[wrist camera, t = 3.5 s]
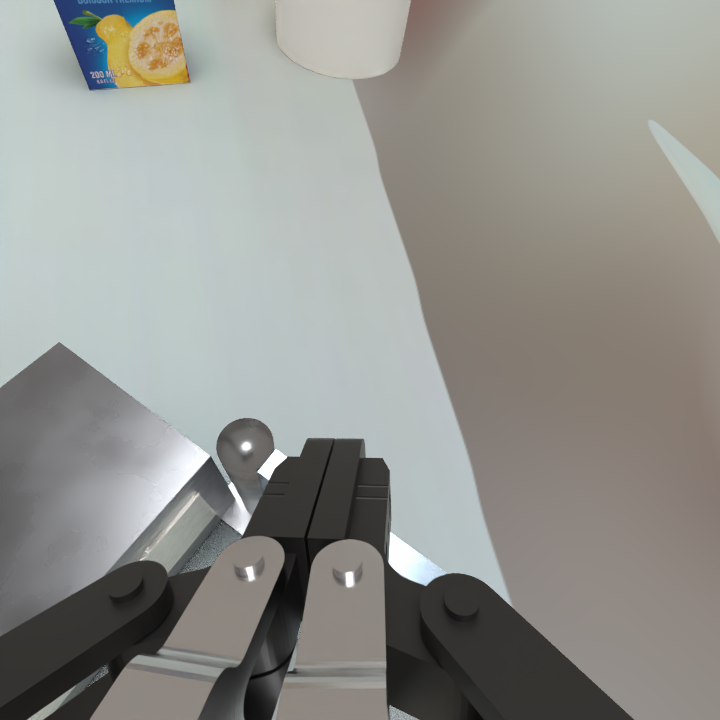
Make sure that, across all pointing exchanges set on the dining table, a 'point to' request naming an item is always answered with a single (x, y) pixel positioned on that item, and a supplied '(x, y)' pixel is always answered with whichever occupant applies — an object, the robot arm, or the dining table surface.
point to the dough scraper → (254, 468)
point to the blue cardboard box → (125, 42)
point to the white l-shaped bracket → (342, 35)
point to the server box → (93, 489)
